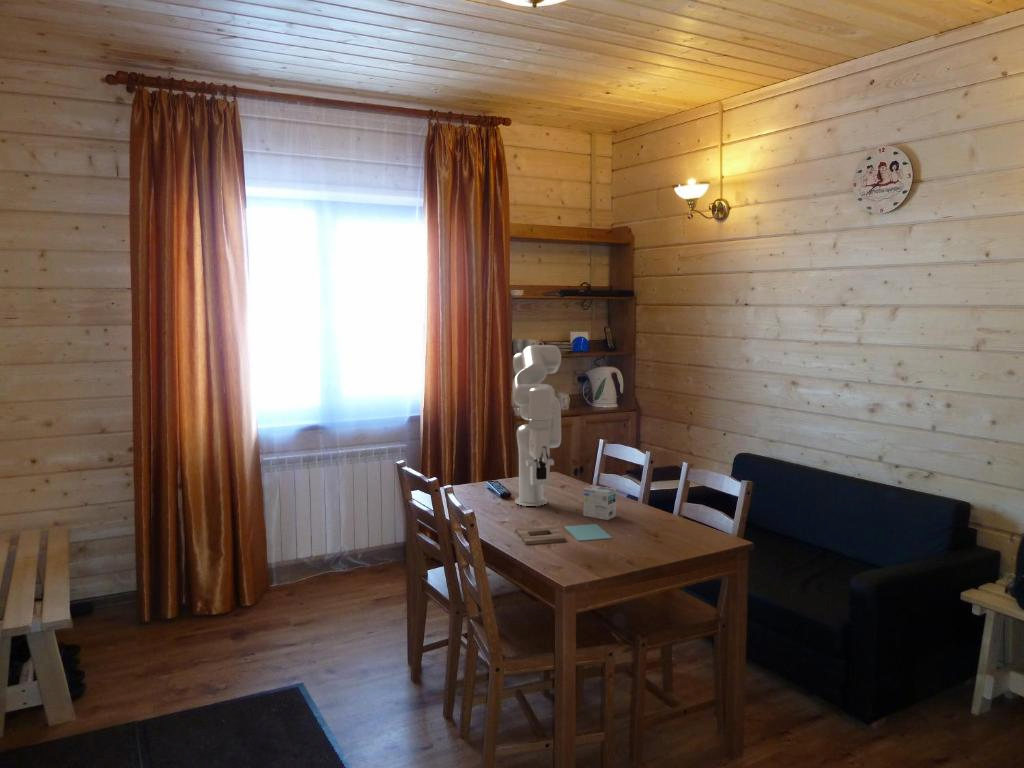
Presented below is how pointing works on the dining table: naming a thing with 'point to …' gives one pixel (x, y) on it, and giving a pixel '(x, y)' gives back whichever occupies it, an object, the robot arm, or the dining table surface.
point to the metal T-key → (533, 472)
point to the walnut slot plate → (553, 537)
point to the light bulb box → (599, 502)
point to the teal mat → (587, 532)
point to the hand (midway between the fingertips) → (540, 477)
